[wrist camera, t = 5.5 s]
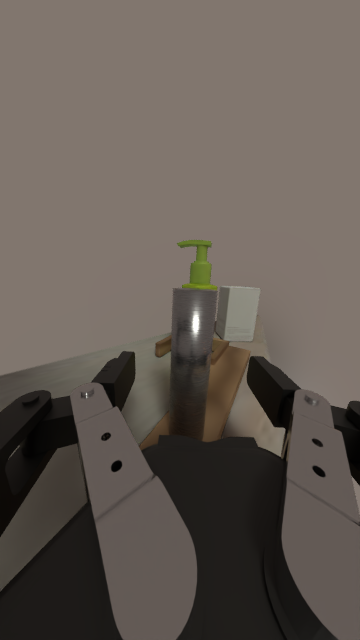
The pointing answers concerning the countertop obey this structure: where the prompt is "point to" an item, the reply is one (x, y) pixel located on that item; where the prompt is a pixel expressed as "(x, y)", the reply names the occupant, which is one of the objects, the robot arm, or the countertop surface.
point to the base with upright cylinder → (198, 370)
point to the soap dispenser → (199, 266)
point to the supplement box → (237, 313)
